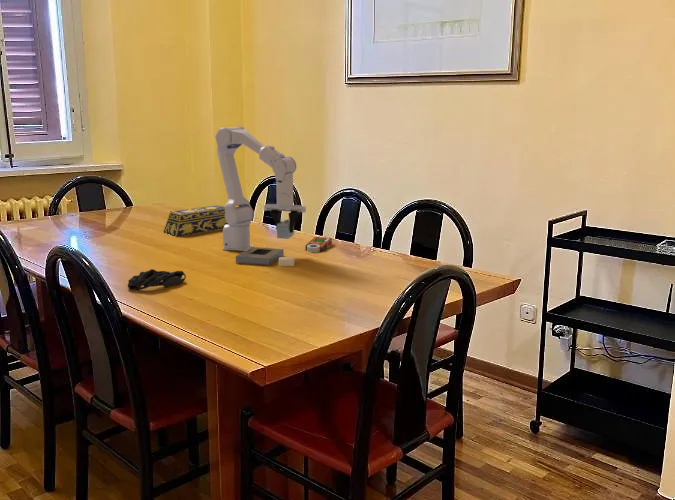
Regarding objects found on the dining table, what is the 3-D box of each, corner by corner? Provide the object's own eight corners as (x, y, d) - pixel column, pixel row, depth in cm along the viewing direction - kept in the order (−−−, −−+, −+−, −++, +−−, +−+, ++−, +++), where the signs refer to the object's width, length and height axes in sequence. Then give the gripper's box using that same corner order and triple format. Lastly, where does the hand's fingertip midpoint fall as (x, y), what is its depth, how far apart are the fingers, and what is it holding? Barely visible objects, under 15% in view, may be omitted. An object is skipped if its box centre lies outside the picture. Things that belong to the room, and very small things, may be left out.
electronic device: (303, 246, 238) (315, 235, 252) (303, 254, 239) (315, 243, 253) (321, 247, 236) (332, 236, 250) (321, 255, 237) (332, 244, 251)
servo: (275, 239, 227) (275, 222, 225) (284, 233, 235) (284, 217, 234) (286, 239, 226) (286, 223, 224) (295, 234, 234) (294, 218, 233)
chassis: (235, 263, 223) (235, 254, 222) (251, 253, 236) (251, 245, 235) (269, 265, 220) (269, 256, 219) (283, 255, 233) (283, 247, 232)
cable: (138, 295, 189) (137, 280, 188) (116, 285, 199) (115, 271, 198) (190, 283, 200) (190, 270, 199) (167, 274, 210) (166, 261, 209)
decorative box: (237, 227, 283) (236, 206, 281) (175, 238, 262) (174, 215, 260) (222, 224, 290) (222, 203, 288) (161, 234, 270) (160, 212, 268)
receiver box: (278, 266, 220) (278, 259, 219) (279, 263, 223) (279, 257, 223) (293, 266, 220) (293, 259, 219) (294, 263, 223) (294, 256, 223)
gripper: (260, 193, 225) (261, 232, 228) (301, 195, 221) (301, 235, 225) (268, 190, 232) (268, 228, 235) (307, 192, 228) (307, 231, 231)
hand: (285, 231), depth 230 cm, fingers closed on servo, 4 cm apart
